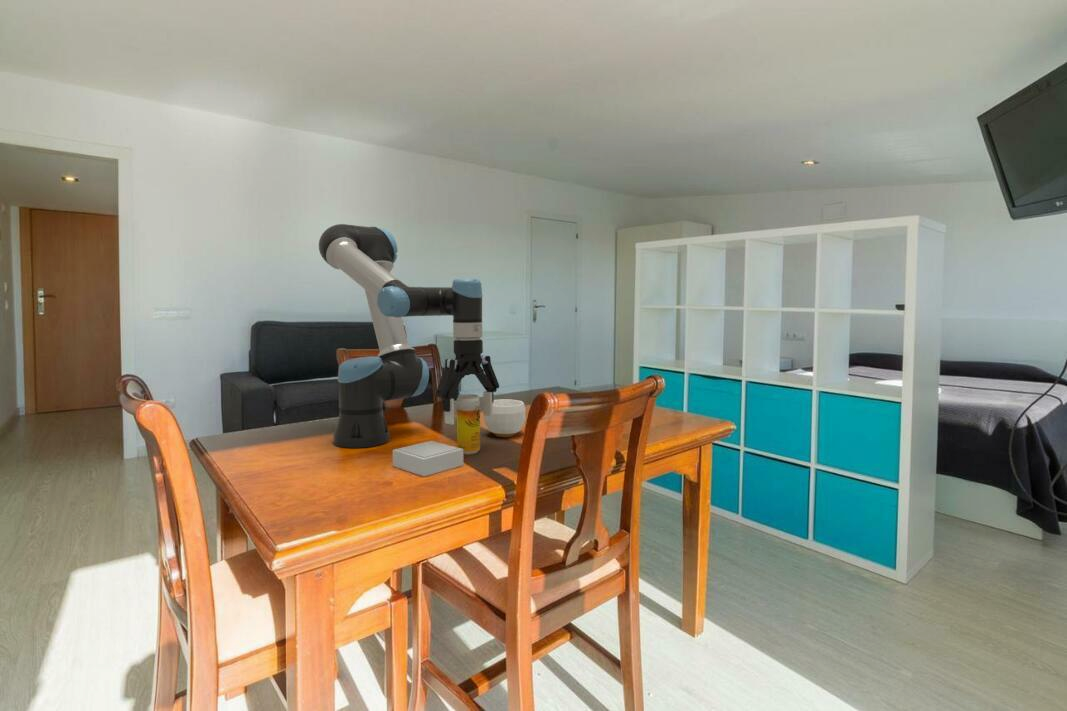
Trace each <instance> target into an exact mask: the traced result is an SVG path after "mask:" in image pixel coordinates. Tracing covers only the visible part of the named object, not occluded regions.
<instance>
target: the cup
mask: <svg viewBox="0 0 1067 711" xmlns="http://www.w3.org/2000/svg"><path fill="white" fill-rule="evenodd" d="M526 412H527V410H526V406H525V403H524V402H523V401H522V400H518V399H511V398H510V399H507V398H506V399H505V398H502V399H500V398H499V399H494V402H493V403H492V415H493V416H485V415H484V414H483V420H484V423H485V427H486V428H487V429H488V431H489V432H490V433H493V434H494V435H495V436H496V437H501V438H509V437H510V438H511V437H513V436H515V434H517V433H519V432H520V431H521V430H522V428H523V427H524V425H525V421H526V419H527V418H526Z"/></svg>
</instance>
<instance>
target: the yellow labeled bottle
mask: <svg viewBox="0 0 1067 711" xmlns="http://www.w3.org/2000/svg"><path fill="white" fill-rule="evenodd" d="M480 401H481V399H480V397H479V395H478V394H473V393H472V394H471V393H467V394H466V393H465V394H460V395H458V396H457V398H456V447H457V448H461V449H463V455H475V454H477V453H479V451H480V449H481V426H480V425H481V402H480Z"/></svg>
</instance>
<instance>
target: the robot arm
mask: <svg viewBox="0 0 1067 711" xmlns="http://www.w3.org/2000/svg"><path fill="white" fill-rule="evenodd" d="M318 251H319V253H320V254H319V255H320V256H321V257H322V259H323V260H324V261H325V262H326V264H327V265H329V266H330V267H332V268H334V269H335V270H340V271H342V272H343V273H344V274H346V275H347V276H348V277H349V278H350V279H352V280H353V281H355V283H357V284H358V285H359V286H361V288H363V289H364V292H365V296H366V299H367V304H368V308H369V312H370V313H369V314H370V316H371V321H372V324H373V328H374V333H375V337H376V341H377V345H378V349H379V352H378V354H377V356H373V355H372V356H370V355H369V356H365V357H362V356H360V357H355V358H350V359H347V360H345V361H343V362H342V363H341V364H339V366H338V372H337V382H338V408H339V410H338V412H339V416H338V419H337V422H336V426H335V430H334V432H333V437H332V438H333V444H334V445H335V446H337V447H341V448H349V449H352V448H353V449H355V448H356V449H357V448H358V449H359V448H361V449H362V448H371V447H376V446H380V445H383V444H386V443H388V442H389V441H390V430H389V427H388V424H387V421H386V419H385V416H384V413H383V410H384V409H383V402H386V401H387V402H388V401H394V400H400V399H410V398H413V397H417V396H420V395H422V394H423V393H424V392H425V390H426V388H427V385H428V383H429V379H430V369H429V365H428V364H427V361H426V360H424V358H422V357H419V356H417V352H416V349H415V348H414V347H412V346H411V345H409V340H408V337H407V334H406V330H405V325H404V322H403V319H402V318H403V317H404V318H406V317H407V318H408V317H425V316H426V317H441V316H444V317H445V316H453V317H452V318H453V319H452V324H453V325H452V326H453V328H452V331H453V333H452V337H453V338H454V340H453V353H454V355H455V357H454V358H455V359H450V358H446V359H445V361H444V370H443V372H442V375H441V377H440V380H439V383H438V386H437V389H436V392H435V396H436V397H437V398H438V397H439V398H441V399H442V411H443V412H444V424H445V425H446V424H447V425H455V401H454V400H455V398H452V397H453V395H454V394H455V392H456V390H457V388H458V386H459V384H460V383H461V382H462V379H463V378H465V376H470V375H475V377H476V378H477V380H478V382H480V384H481V386H482V387H483V389H484V390H485V391H483V392H482V393H483V396H482V397H483V398H482V399H483V408H482V409H483V416H484V415H485V416H493V415H492V403H493V402H494V400H495V399H494V393H496V392H497V390H498V389H499V388H500V384H499V380H498V379H497V376H496V373H495V370H494V368H493V365H492V363H491V362H492V360H491V355H486V354H485V355H484V354H483V352H484V341H483V340H482V339H481V338H483V296H484V295H483V290H482V289H483V288H482V282H481V280H480V279H477V278H456V279H455V278H454V280H453V281H452V286H451V287H450V286H449V287H447V286H446V287H441V286H440V287H438V286H435V287H434V286H430V287H429V286H409V285H406V284H404V282H402V281H401V280H399V279H398V278H397V277H396V276H394V275H393V274H392V273H391V271H392V270H393V269H394V264H395V262H396V261H397V258H398V254H397V253H398V245H397V242H396V239H395V237H394V236H393V234H392V233H391V232H390V231H389V230H387V229H385V228H379V227H378V226H364V225H363V226H362V225H355V224H354V225H353V224H345V223H340V224H334V225H332V226H330V227H327V228H326V229H325V230H324V231H323V232H322V234H321V236H320V238H319V240H318ZM482 354H483V355H482Z"/></svg>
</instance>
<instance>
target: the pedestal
mask: <svg viewBox="0 0 1067 711" xmlns="http://www.w3.org/2000/svg"><path fill="white" fill-rule="evenodd" d="M463 466H464V454H463V449H461V448H457V446H453V445H449V444H445V443H442V442H438V441H434V440H430V441H424V442H421V443H420V442H419V443H415V444H412V445H408V446H403V447H400V448H395V449H392V467H394V468H398V469H400V470H404V471H406V472H409V473H412V474H415V475H418V476H422V477H424V478H425V477H428V476H430V475H435V474H438V473H441V472H445V471H448V470H451V469H455V468H459V467H463Z"/></svg>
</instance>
